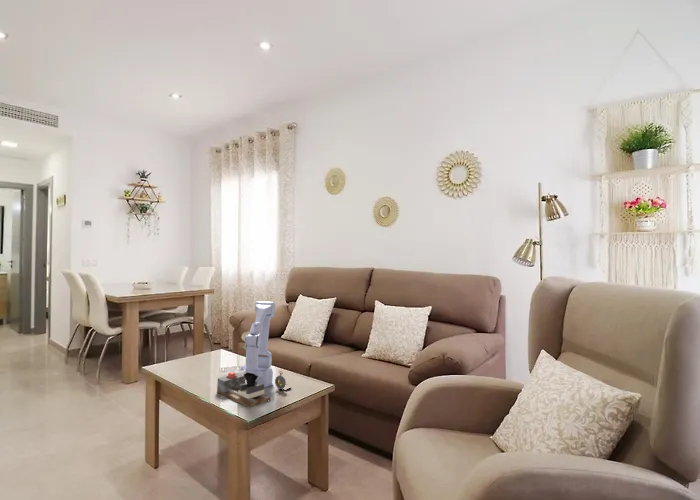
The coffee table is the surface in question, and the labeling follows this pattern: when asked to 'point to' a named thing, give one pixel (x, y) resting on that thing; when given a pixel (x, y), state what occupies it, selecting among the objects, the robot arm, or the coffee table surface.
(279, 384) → the pocket watch
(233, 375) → the button
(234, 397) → the rail board
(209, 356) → the coffee table surface
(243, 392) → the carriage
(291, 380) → the coffee table surface
